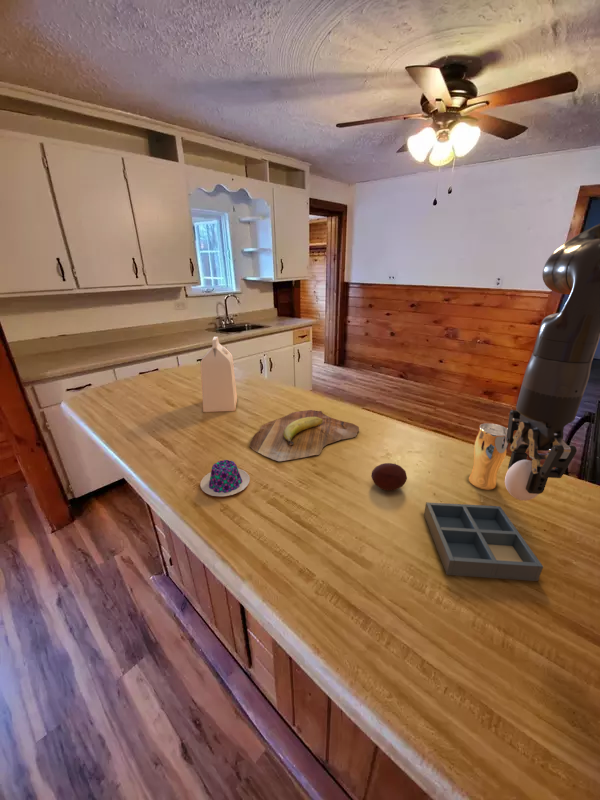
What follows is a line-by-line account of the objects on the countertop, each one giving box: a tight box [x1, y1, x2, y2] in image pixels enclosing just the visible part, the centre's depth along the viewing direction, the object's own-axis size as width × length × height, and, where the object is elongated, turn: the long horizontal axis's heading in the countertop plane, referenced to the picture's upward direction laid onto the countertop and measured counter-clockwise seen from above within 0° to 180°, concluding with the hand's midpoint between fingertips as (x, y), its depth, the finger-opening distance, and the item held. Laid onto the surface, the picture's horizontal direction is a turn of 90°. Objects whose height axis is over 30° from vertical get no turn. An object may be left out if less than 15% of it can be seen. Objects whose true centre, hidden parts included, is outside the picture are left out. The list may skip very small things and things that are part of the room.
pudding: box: [199, 459, 251, 497], centre depth 82 cm, size 12×12×5 cm
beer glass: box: [468, 422, 510, 491], centre depth 82 cm, size 7×7×15 cm
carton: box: [423, 501, 544, 582], centre depth 65 cm, size 15×15×3 cm
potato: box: [371, 462, 408, 492], centre depth 81 cm, size 7×8×6 cm
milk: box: [200, 336, 238, 413], centre depth 125 cm, size 12×12×26 cm
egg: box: [504, 459, 539, 501], centre depth 56 cm, size 5×5×7 cm
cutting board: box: [249, 409, 360, 462], centre depth 107 cm, size 35×27×4 cm
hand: (523, 480), depth 56 cm, fingers closed on egg, 5 cm apart
